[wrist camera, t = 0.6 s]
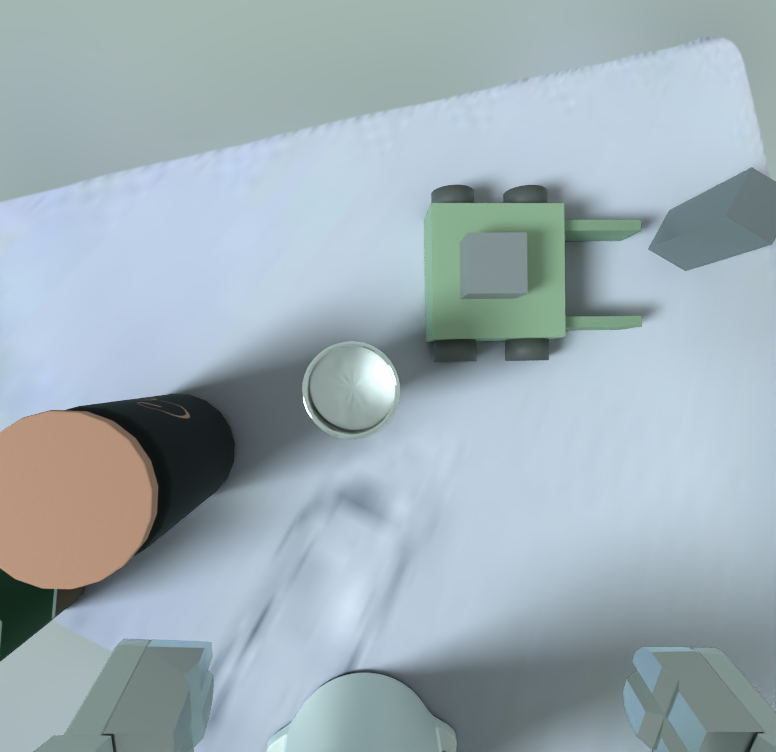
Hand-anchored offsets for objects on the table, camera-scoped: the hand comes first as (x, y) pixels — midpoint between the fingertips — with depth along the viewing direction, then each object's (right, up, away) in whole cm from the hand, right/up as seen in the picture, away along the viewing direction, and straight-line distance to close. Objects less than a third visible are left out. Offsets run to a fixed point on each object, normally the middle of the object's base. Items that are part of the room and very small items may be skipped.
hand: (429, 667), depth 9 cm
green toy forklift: (+13, +15, +37) cm, 42 cm away
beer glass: (-4, +5, +37) cm, 37 cm away
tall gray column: (+29, +19, +38) cm, 51 cm away
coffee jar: (-21, -1, +36) cm, 42 cm away
